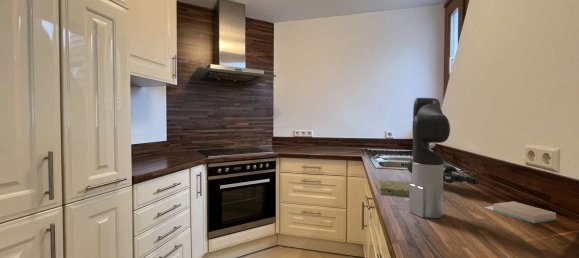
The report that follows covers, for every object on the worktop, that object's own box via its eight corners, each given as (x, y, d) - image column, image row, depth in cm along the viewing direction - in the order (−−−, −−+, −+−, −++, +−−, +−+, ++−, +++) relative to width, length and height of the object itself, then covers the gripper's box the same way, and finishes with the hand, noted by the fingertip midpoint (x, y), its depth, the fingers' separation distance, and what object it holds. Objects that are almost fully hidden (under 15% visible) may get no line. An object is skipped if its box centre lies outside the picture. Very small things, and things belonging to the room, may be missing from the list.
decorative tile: (374, 185, 128) (374, 178, 128) (418, 188, 124) (418, 180, 124) (379, 196, 110) (379, 188, 110) (431, 199, 106) (431, 191, 106)
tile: (493, 210, 91) (533, 223, 80) (493, 203, 91) (534, 216, 80) (513, 207, 94) (555, 219, 83) (513, 201, 94) (555, 212, 83)
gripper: (430, 164, 118) (463, 172, 101) (455, 164, 121) (491, 171, 104) (429, 181, 118) (462, 192, 102) (454, 180, 121) (490, 190, 104)
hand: (477, 181), depth 103 cm, fingers closed
